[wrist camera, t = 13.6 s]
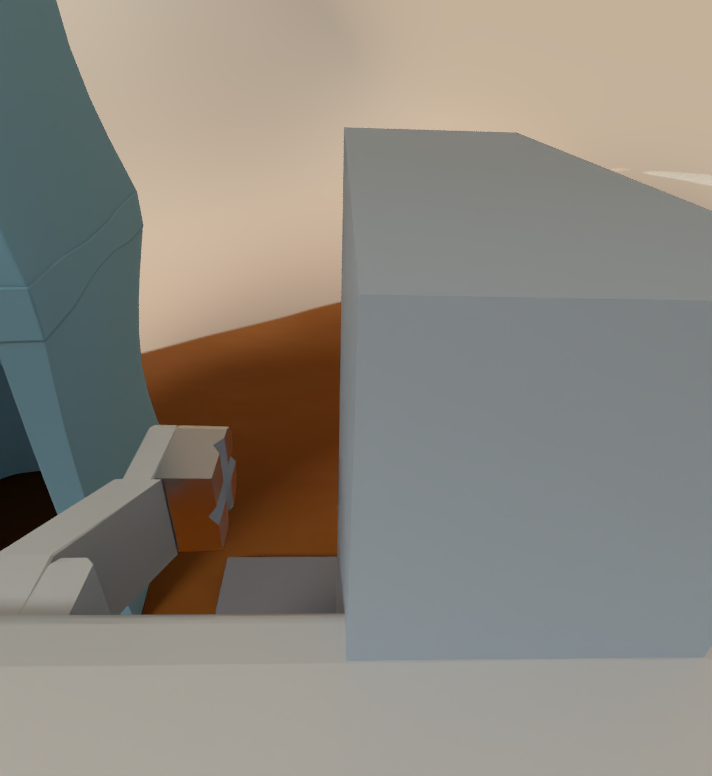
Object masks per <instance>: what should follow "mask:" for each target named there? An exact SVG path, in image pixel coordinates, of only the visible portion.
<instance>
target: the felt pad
mask: <svg viewBox="0 0 712 776" xmlns="http://www.w3.org/2000/svg"><path fill="white" fill-rule="evenodd" d="M311 613H337V557H228V558H227V562H226V567H225V571H224V576H223V580H222V585H221V589H220V594H219V598H218V603H217V607H216V612H215V614H311Z"/></svg>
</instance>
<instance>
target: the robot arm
mask: <svg viewBox="0 0 712 776" xmlns="http://www.w3.org/2000/svg"><path fill="white" fill-rule="evenodd" d="M233 444H234V442H233V436H232V430H231V428H230V427H222V426H187V425H180V426H177V425H154V426H152V427H150V428H149V430H148V431H147V433H146V435H145V437H144V439H143V441H142V443H141V445H140V447H139V449H138V451H137V452H136V454H135V456H134V458H133V460H132V462H131V464H130V466H129V468H128V470H127V472H126V474H125V475H124V477H123V479H114V480H113V481H111V482H110V483H108V484H106V485H105V486H103V487H102V488H100V489H98V490H97V491H95V492H94V493H92V494H90V495H89V496H87V497H86V498H84V499H83V500H81V501H79V502H78V503H76V504H75V505H73V506H71V507H70V508H68V509H67V510H65V511H63V512H62V513H60V514H59V515H57V516H56V517H54V518H52V519H51V520H49V521H48V522H46V523H44V524H43V525H41V526H40V527H38V528H36V529H35V530H33V531H32V532H30V533H29V534H27V535H25V536H24V537H22V538H21V539H19V540H17V541H16V542H14V543H13V544H11V545H9V546H8V547H6V548H5V549H3V550H1V551H0V776H712V646H711V647H710V649H709V650H708V652H707V653H706V655H705V656H704V657H668V658H571V659H475V660H379V661H346V627H345V613H311V614H165V615H119V614H120V613H121V612H122V611H123V610H124V609H125V608H126V607H127V606H128V605H129V604H130V603H131V602H132V601H133V600H134V599H135V598H136V597H137V596H138V595H139V594H140V593H141V592H142V591H143V590H144V589H145V588H146V586H147V585H148V584H149V583H150V582H151V581H152V580H153V579H154V578H155V577H156V576H157V575H158V574H159V573H160V572H161V571H162V570H163V569H164V568H165V567H166V566H167V565H168V564H169V563H170V562H171V561H172V560H173V559H174V558H175V557H176V556H177V555H178V553H177V552H188V551H223V548H224V544H225V539H226V535H227V531H228V527H229V518H228V511H229V510H230V509H231V508H233V506H234V501H235V497H236V487H237V468H236V461H235V460H234V459H233V458H232V457H231V452H232V448H233Z"/></svg>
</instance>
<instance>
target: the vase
mask: <svg viewBox="0 0 712 776" xmlns="http://www.w3.org/2000/svg"><path fill="white" fill-rule="evenodd" d="M142 228H143V222H142V216H141V211H140V206H139V200H138V195H137V191H136V189H135V187H134V185H133V183H132V181H131V180H130V178H129V176H128V174H127V172H126V170H125V168H124V166H123V164H122V162H121V160H120V159H119V157H118V155H117V153H116V151H115V149H114V147H113V145H112V143H111V141H110V140H109V138H108V136H107V133H106V131H105V129H104V127H103V125H102V123H101V121H100V119H99V117H98V115H97V113H96V110H95V108H94V106H93V104H92V102H91V100H90V97H89V95H88V92H87V90H86V87H85V85H84V82H83V80H82V77H81V75H80V72H79V69H78V67H77V64H76V62H75V59H74V57H73V55H72V52H71V50H70V46H69V43H68V40H67V36H66V33H65V30H64V26H63V22H62V19H61V16H60V12H59V9H58V5H57V2H56V0H0V479H2V478H4V477H7V476H10V475H14V474H19V473H26V472H34V471H41V473H42V476H43V478H44V481H45V484H46V486H47V489H48V491H49V494H50V497H51V499H52V502H53V504H54V507H55V509H56V512H57V514H58V515H59V514H60V513H62V512H63V511H65V510H67V509H68V508H70V507H71V506H73V505H75V504H76V503H78V502H79V501H81V500H83V499H84V498H86V497H87V496H89V495H90V494H92V493H94V492H95V491H97V490H98V489H100V488H102V487H103V486H105V485H106V484H108V483H110V482H111V481H113V480H114V479H123V477H124V475H125V474H126V472H127V470H128V468H129V466H130V464H131V462H132V460H133V458H134V456H135V454H136V452H137V451H138V449H139V447H140V445H141V443H142V441H143V439H144V437H145V435H146V433H147V431H148V430H149V428H150V427H152V426H154V425H159V422H158V420H157V418H156V415H155V412H154V409H153V406H152V403H151V400H150V397H149V394H148V390H147V386H146V381H145V377H144V372H143V368H142V362H141V351H140V340H139V308H138V307H139V302H138V301H139V277H140V275H139V274H140V259H141V244H142V243H141V242H142ZM148 587H149V584H148V585H147V586H146V588H145V589H144V590H143V591H142V592H141V593H140V594H139V595H138V596H137V597H136V598H135V599H134V600H133V601H132V602H131V603H130V604H129V605H128V606H127V607H126V608H125V609H124V610H123V611H122V612H121V613H120V614H119V615H141V614H142V610H143V606H144V602H145V598H146V595H147V591H148Z"/></svg>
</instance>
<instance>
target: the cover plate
mask: <svg viewBox="0 0 712 776" xmlns="http://www.w3.org/2000/svg"><path fill="white" fill-rule="evenodd" d="M343 175H344V176H343V236H342V237H343V239H342V296H341V298H342V299H341V357H340V417H339V478H338V539H337V613H345V627H346V661H379V660H475V659H571V658H668V657H704V656H705V655H706V653H707V652H708V650H709V649H710V647H711V646H712V211H710V210H708V209H705V208H703V207H701V206H698V205H696V204H693V203H691V202H688V201H686V200H683V199H680V198H678V197H676V196H673V195H671V194H668V193H666V192H663V191H660V190H658V189H656V188H653V187H650V186H648V185H646V184H643V183H641V182H638V181H636V180H633V179H631V178H628V177H626V176H623V175H621V174H618V173H616V172H613V171H611V170H608V169H606V168H603V167H601V166H598V165H596V164H593V163H591V162H588V161H586V160H583V159H581V158H578V157H576V156H573V155H571V154H568V153H566V152H563V151H561V150H559V149H556V148H553V147H551V146H548V145H546V144H543V143H541V142H538V141H536V140H534V139H531V138H528V137H526V136H524V135H521V134H519V133H505V132H473V131H441V130H440V131H439V130H407V129H374V128H344V174H343Z"/></svg>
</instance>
